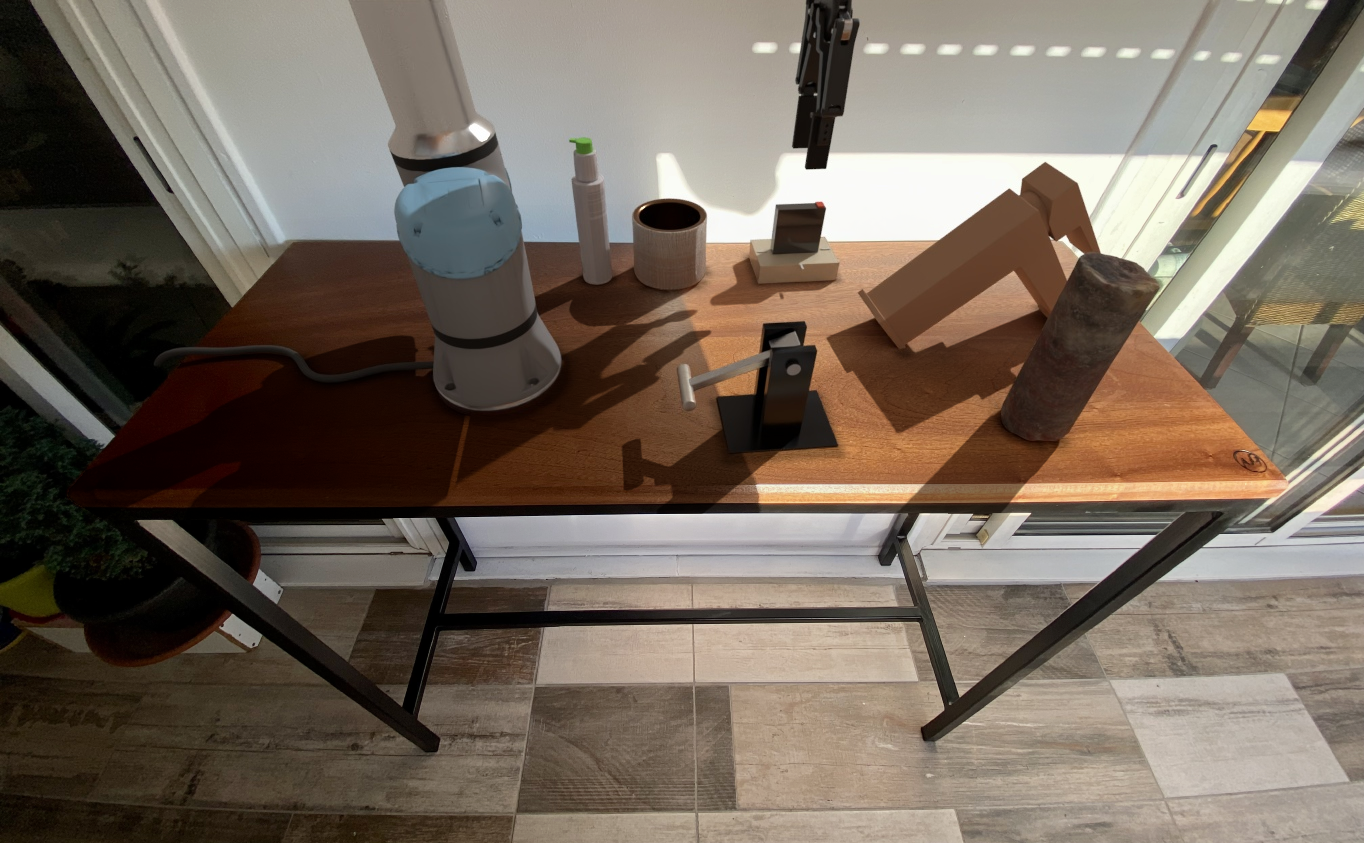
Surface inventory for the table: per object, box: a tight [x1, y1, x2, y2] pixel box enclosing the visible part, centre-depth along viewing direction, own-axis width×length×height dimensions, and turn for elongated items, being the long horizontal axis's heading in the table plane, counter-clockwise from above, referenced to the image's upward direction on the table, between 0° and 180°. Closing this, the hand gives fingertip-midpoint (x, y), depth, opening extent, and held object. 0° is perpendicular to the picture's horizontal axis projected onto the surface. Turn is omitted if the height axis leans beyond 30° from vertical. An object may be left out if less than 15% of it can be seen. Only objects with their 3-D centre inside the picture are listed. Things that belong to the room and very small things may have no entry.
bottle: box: [568, 137, 613, 286], centre depth 83 cm, size 4×4×20 cm
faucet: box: [857, 161, 1102, 350], centre depth 78 cm, size 7×23×25 cm
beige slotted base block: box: [748, 236, 840, 285], centre depth 92 cm, size 12×11×3 cm
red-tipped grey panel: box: [770, 201, 827, 254], centre depth 88 cm, size 7×2×7 cm, turn 96°
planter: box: [631, 197, 708, 292], centre depth 88 cm, size 11×11×10 cm
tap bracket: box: [716, 320, 839, 455], centre depth 64 cm, size 12×9×13 cm
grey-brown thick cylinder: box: [1000, 252, 1161, 442], centre depth 62 cm, size 8×7×20 cm
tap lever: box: [676, 331, 801, 412], centre depth 61 cm, size 13×6×2 cm, turn 96°
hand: (808, 157), depth 81 cm, fingers open, 7 cm apart
